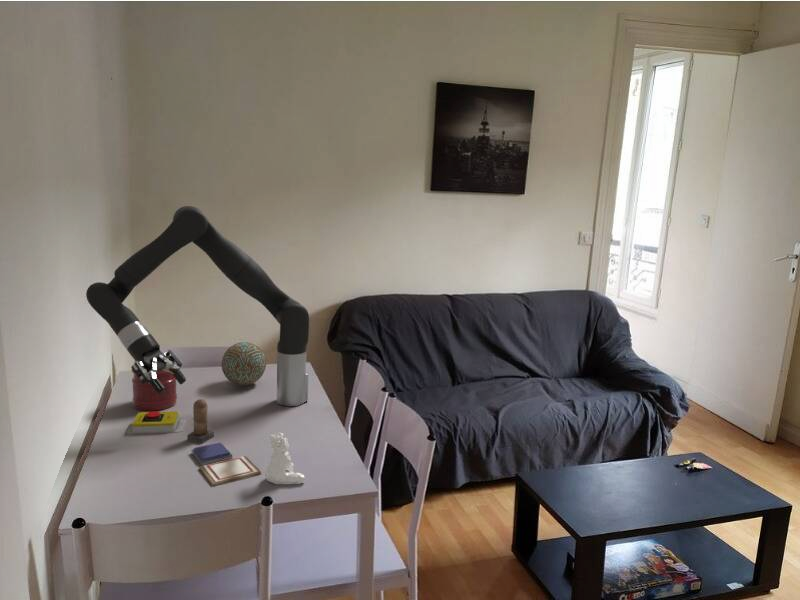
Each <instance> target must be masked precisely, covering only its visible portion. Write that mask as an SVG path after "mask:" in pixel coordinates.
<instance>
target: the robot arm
mask: <svg viewBox="0 0 800 600" xmlns="http://www.w3.org/2000/svg"><path fill="white" fill-rule="evenodd" d="M190 243H193V244H194V245H195V246H197V247H199V249H201V251H203V252H204V253H205V254H206V255H207V256H208V257H209V258H210V260H211V261H212V263H214V265H215V266H216V267H217V268H218V270H219V271H221V273H222V274H223V275H224V276H225V277H226V278H227V279H228V280H229V281H230V282H231V283H232V284H234V285H235V286H236V287H237V288H239V289H240V290H241V291H243V292H244V293H245V294H247V296H249V297H251V298H253V299H254V300H256V301H257V302H259V303H260V304H261V305H262V306H264V307H265V310H267V311H268V312H269V313H270V314H271V315H272V316H273V318H274V319H275V320H276V322H277V323H278V325H279V340H278V342H277V346H276V348H277V349H276V350H277V353H276V355H277V356H276V357H277V358H276V404H278V405H280V406H286V407H296V406H297V407H298V406H301V405H303V404H305V403H307V402H306V401H309V395H308V394H309V374H308V373H307V346H308V344H309V338H310V337H309V334H310V332H309V331H310V315H309V314H310V313H309V311H308V309H307V308H306V306H304V305H303V304H301V303H300V302H298V301H296V299H294V298H292V297H290V295H288V294H287V293H285V292H284V291H283V290H281V288H279V287H278V286H277V285H276V284H275V283H274V281H273V279H271V278H270V276H269V275H268V273H267V272H266V271H265V270H264V269H263V268H262V267H261V266H260V265H259V264H258V263H257V262H256V261H255V260H254V259H253V258H252V257H251V256H250V255H248V254H247V253H246V252H245V251H244V250H242V249H241V248H240V247H239V246H237V245H236V243H234V242H232V241H231V240H229V239H228V238H227V237H225V236H224V235H223V234H222V233H221V232H220V231H219V230H218V229H217V228H216V227H215V226H214V225H213V224H212V222H210V220H209V219H208V218H207V217H206V215H205V213H203V211H202V210H201V209H199V208H198V207H196V206H193V205H192V206H191V205H185V206H181V207H179V208H178V209H177V210H176V211H175V213H174V214H173V218H172V222H171V223H170V224H169V225H168V227H167V228H166V229H165V230H164V231H163V232H162V233H161V234H159V236H158V237H156V238H155V239H154V240H151V242H149V243H148V244H147V245H145V246H144V247H142V248H140V249H138V251H136V252H135V253H134V254H132V255H131V256H129V257H128V258H127V259H126V260H125V261H124V262H122V264H120V265H119V266H118V267H117V268H116V269H115V270H114V277H113V278H112V279H111V280H110V282H108V283H105V282H94V283H92V284H90V285H88V288H87V289H86V293H85V297H86V301H87V302H88V304H89V305H90V307H91V308H92V309H93V310H94V311H95V312H96V313H97V314H98V315H99V316H100V317H101V318H102V319H103V320H104V321H106V322H107V323H108V325H109V326H110V327H111V329H112V331H113V332H114V333H115V335H116V336H117V338H118V339H119V341H120V343H121V344H122V345H123V347H124V348H125V350H126V351H127V352H128V354H129V355H130V356H131V357H132V359H133V360H134V361H136V362H135V363H134V362H133V364H132V365H131V367H130V368H131V371H132V370H133V371H134V372H135V374H136V375H137V377H138V378H139V380H140V381H141V383H143V384H145V383H149V384H151V385H152V386H153V388H154V389H155V390H156V391H157V392H158V393H159V394H160V393H162V392H163V391H164V390H165V387H164V386H163V385H162V383H161V382H160V381H159V379H158V378H157V379H156V372H157V371H162V370H163V371H168V372H170V373H172V374H173V376H174V377H175V378H176V382H178V384H179V385H183V384H184V383H185V382H187V378H186V377H185V375H184V374H183V373H182V371H181V370H180V369H181V367H182V366H183V363H182V361H181V360H180V359H179V358H178V357H177V356H176V355H175V353H174V352H173V351H172V350H171V349H168V350H167V351H166V352H162V351H161V349H160V348H161V347H160V344H159V343H158V341H157V340H156V338H155V337H154V336H153V335H152V334H151V332H150V331H149V329H148V328H147V327H146V326H145V325H144V324H143V323H142V322H141V320H139V317H137V316H136V314H135V313H134V312H133V310H131V309H130V308H129V307H127V306H125V305H124V302H125V300H126V299H127V298H128V297H129V295H130V294H131V293H132V292H133V290H134V288H135V287H137V286H138V285H139V284H140V283H141V282H143V281H144V280H145V279H146V278H148V276H149V275H151V274H152V273H153V272H154V271H155V270H157V268H159V267H160V266H161V265H162V264H163V263H164V262H165V261H166V260H168V259H169V258H171V257H172V255H173V256H174V254H176V253H177V252H178V251H180V250H181V249H182V248H184V247H186V246H187V245H188V244H190ZM166 363H167V364H168V365H167V366H166ZM170 367H172V368H174V369H171V368H170ZM144 368H145V369H146V370H145V369H144ZM142 374H143V376H144V377H143V376H142ZM304 402H305V403H304ZM302 403H303V404H302ZM300 404H301V405H300Z"/></svg>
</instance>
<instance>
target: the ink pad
mask: <svg viewBox="0 0 800 600" xmlns="http://www.w3.org/2000/svg"><path fill="white" fill-rule="evenodd" d="M190 452H191V455H192V456H193V457H194V459H195V460H196V461H197V462H198V463H199V465H200V466H204V465H208V464H212V463H217V462H221V461H225V460H230V459H233V454H232V453H231V452H230V451H229V450H228V448H226V446H224V444H223V443H222V442H215V443H211V444H206V445H202V446H201V445H200V446H196V447H193V449H191V451H190Z"/></svg>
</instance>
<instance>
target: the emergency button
mask: <svg viewBox="0 0 800 600" xmlns="http://www.w3.org/2000/svg"><path fill="white" fill-rule="evenodd" d="M179 415H180V414H179V411H176V410H175V411H158V410H155V411H142V412H141V411H140V412H138V413H137V414H136V416H135V418H134V420H133V421H131V424H130V426H128V429H127V430H126V434H127V433H128V434H127V435H133V433H140V434H163V433H164V434H165V433H181V432H183V431H184V429H185V427H186V424H187V419H186V418H180V416H179Z"/></svg>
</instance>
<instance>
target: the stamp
mask: <svg viewBox="0 0 800 600" xmlns="http://www.w3.org/2000/svg"><path fill="white" fill-rule="evenodd" d="M192 408H193V412H192V413H193V431H191V432H190V433H188V434H187V435H186V438H187V441H188V442H189V441H190V442H193V443H194V442H195V443H198V444H204V443H206V442H208V441H209V440H211V439H213V438H214V437H215V431H213V430H208V403H207V401H206V400H205V399H197V400H195V401H194V403H193V405H192Z"/></svg>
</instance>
